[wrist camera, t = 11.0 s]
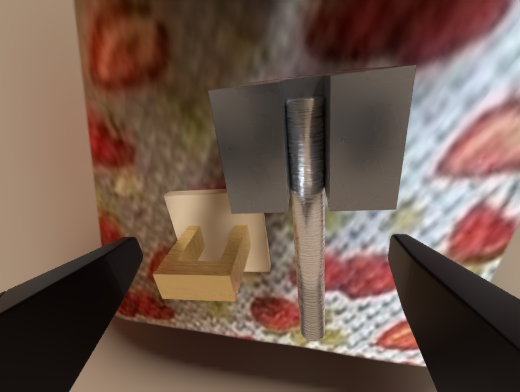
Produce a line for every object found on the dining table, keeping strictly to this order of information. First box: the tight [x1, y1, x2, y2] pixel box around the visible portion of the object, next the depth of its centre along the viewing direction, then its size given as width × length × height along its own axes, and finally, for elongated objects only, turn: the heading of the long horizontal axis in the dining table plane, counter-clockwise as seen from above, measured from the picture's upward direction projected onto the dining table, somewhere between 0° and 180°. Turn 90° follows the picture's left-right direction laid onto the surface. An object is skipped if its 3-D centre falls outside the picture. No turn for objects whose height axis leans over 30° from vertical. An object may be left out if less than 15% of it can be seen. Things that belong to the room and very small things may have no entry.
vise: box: [208, 65, 416, 341], centre depth 18 cm, size 8×19×9 cm, turn 7°
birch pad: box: [164, 189, 271, 272], centre depth 24 cm, size 9×9×1 cm
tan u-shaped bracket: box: [153, 225, 251, 302], centre depth 21 cm, size 6×2×6 cm, turn 97°
